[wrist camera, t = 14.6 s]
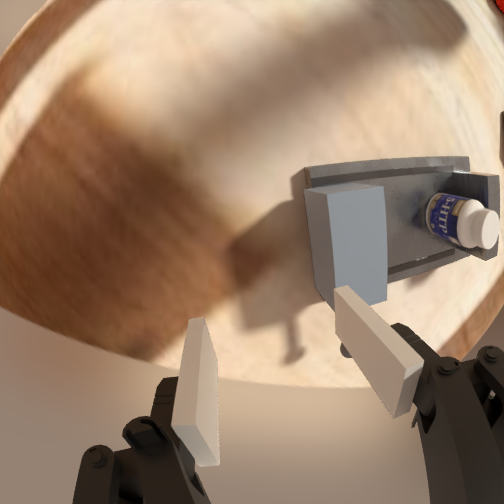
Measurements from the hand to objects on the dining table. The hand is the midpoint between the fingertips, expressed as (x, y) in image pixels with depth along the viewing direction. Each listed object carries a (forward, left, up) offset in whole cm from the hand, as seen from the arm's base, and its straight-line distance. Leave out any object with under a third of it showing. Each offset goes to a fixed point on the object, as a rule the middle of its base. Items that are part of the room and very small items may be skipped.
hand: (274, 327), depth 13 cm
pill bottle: (0, +24, -14) cm, 27 cm away
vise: (0, +19, -15) cm, 24 cm away
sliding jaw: (+4, +8, -13) cm, 16 cm away
